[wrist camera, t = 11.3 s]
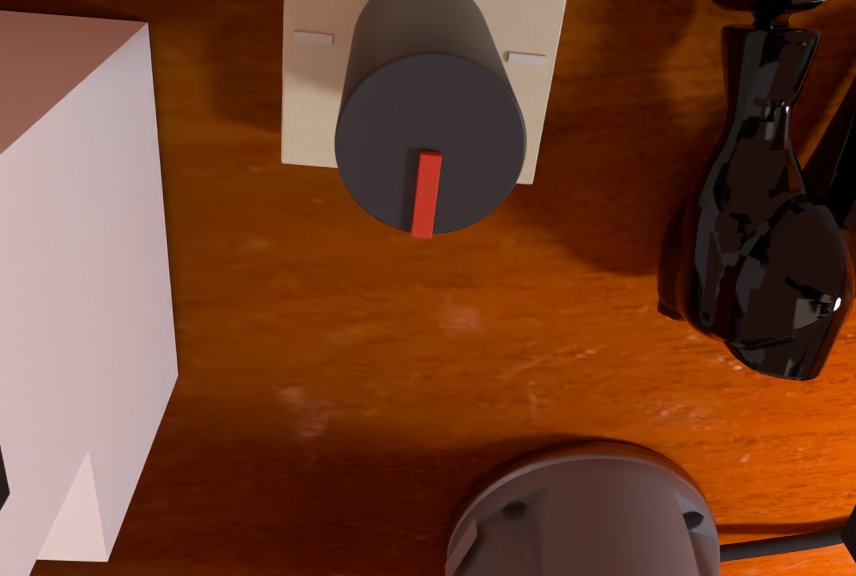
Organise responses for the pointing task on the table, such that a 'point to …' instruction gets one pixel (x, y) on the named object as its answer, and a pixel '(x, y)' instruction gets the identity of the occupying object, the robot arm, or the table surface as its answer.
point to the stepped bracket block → (78, 283)
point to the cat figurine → (767, 209)
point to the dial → (427, 117)
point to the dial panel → (329, 53)
